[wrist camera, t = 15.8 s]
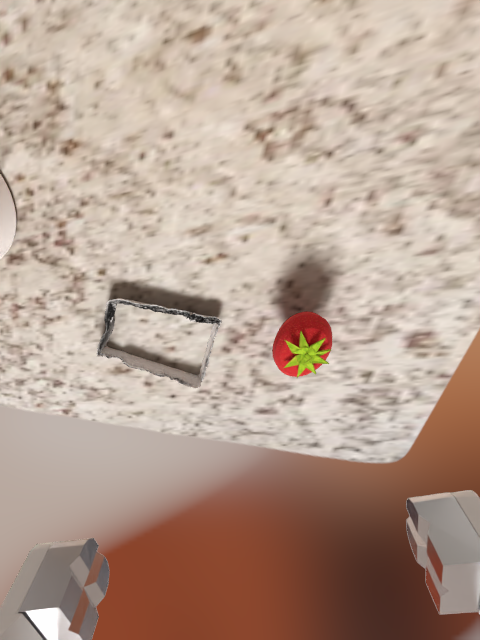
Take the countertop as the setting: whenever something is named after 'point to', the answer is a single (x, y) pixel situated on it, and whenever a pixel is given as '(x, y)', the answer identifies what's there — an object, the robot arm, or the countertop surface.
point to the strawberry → (302, 344)
